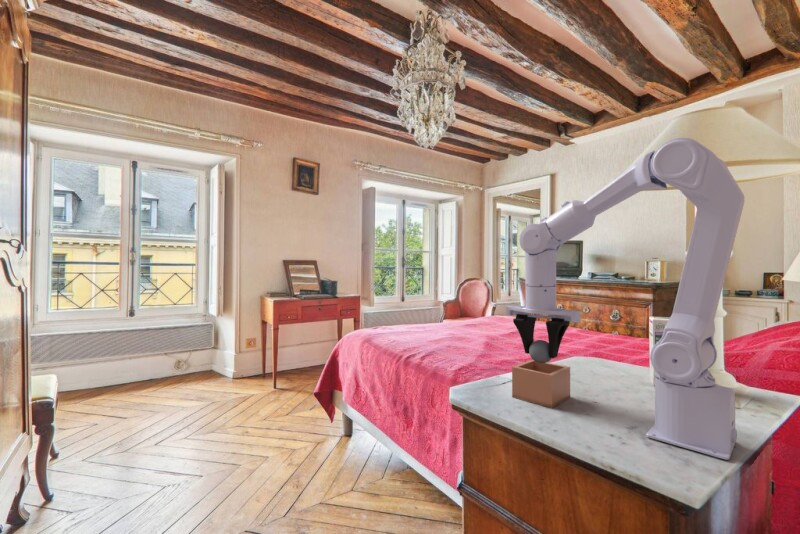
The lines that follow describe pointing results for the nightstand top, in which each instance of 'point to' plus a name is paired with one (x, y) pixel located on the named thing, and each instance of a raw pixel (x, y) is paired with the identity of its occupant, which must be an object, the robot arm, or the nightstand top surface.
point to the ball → (539, 351)
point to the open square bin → (541, 383)
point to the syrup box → (655, 337)
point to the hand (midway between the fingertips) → (541, 354)
